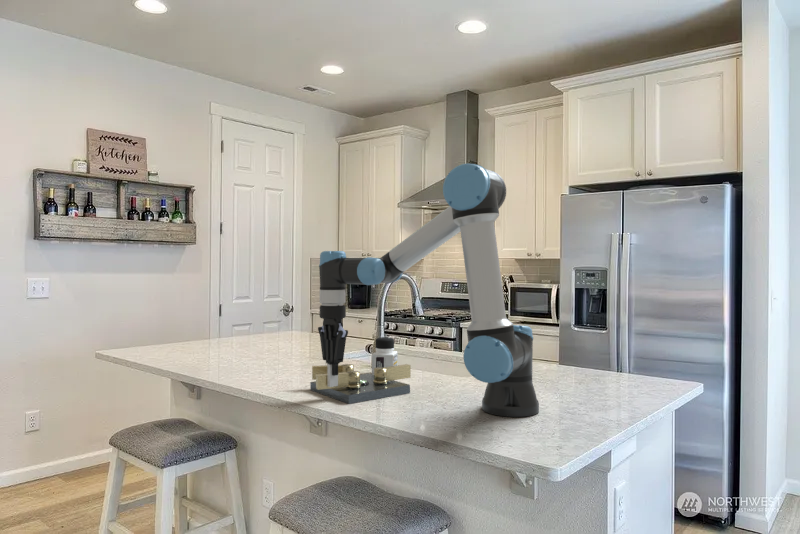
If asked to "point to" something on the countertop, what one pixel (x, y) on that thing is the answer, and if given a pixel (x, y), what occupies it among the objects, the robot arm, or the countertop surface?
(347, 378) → the knob
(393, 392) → the tribrach plate
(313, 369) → the brass lever handle
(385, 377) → the knob
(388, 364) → the container
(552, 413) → the countertop surface
